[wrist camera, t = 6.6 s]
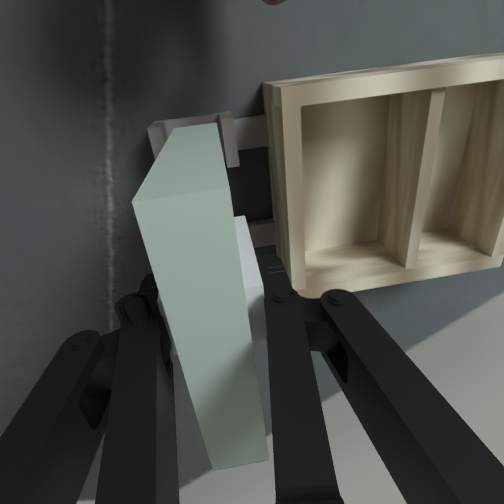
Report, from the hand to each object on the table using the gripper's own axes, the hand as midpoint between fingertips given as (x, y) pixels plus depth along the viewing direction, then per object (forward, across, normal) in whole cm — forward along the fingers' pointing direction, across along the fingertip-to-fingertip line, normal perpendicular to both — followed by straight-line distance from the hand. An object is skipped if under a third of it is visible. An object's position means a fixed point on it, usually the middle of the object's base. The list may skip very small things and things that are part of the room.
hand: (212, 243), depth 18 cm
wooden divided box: (+8, +9, 0) cm, 12 cm away
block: (+4, 0, 0) cm, 4 cm away
